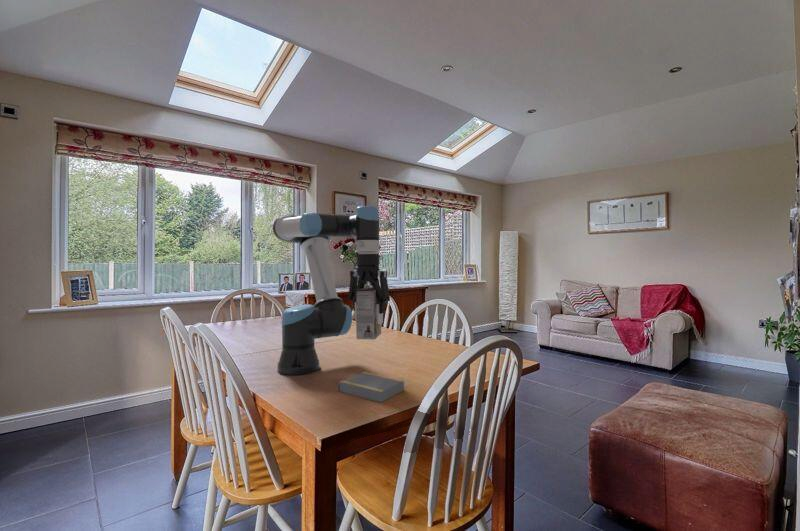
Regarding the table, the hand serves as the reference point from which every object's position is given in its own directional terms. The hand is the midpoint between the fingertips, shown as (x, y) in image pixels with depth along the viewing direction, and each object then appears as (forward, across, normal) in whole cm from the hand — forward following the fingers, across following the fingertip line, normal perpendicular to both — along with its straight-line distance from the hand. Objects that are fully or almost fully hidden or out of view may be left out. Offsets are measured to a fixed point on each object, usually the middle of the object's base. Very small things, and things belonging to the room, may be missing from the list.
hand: (368, 322), depth 126 cm
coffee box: (+5, 0, 0) cm, 5 cm away
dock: (+20, +5, -5) cm, 22 cm away
